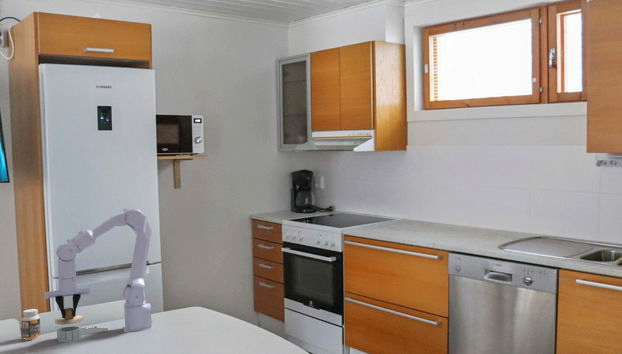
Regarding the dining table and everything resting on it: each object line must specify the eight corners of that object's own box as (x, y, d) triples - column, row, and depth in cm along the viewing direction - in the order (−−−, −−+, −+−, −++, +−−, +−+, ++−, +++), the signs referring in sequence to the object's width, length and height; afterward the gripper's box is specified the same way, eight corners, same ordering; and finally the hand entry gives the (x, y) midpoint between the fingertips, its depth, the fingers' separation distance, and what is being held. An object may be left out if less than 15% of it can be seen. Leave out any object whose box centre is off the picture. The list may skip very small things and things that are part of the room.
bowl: (82, 335, 214) (82, 324, 214) (81, 341, 206) (81, 330, 206) (58, 338, 211) (57, 327, 211) (56, 344, 204) (56, 333, 204)
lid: (83, 316, 214) (83, 304, 214) (82, 322, 206) (81, 310, 206) (56, 319, 212) (55, 307, 212) (53, 325, 203) (53, 313, 203)
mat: (107, 326, 225) (107, 325, 225) (108, 332, 216) (108, 331, 216) (79, 329, 222) (79, 328, 222) (78, 336, 212) (78, 335, 212)
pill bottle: (33, 341, 209) (32, 312, 209) (19, 340, 210) (17, 312, 210) (44, 336, 214) (42, 308, 214) (29, 335, 216) (28, 308, 215)
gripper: (89, 274, 215) (91, 312, 215) (45, 277, 210) (47, 316, 210) (89, 277, 208) (91, 316, 208) (43, 281, 203) (45, 321, 203)
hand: (69, 316), depth 209 cm, fingers closed on lid, 3 cm apart
